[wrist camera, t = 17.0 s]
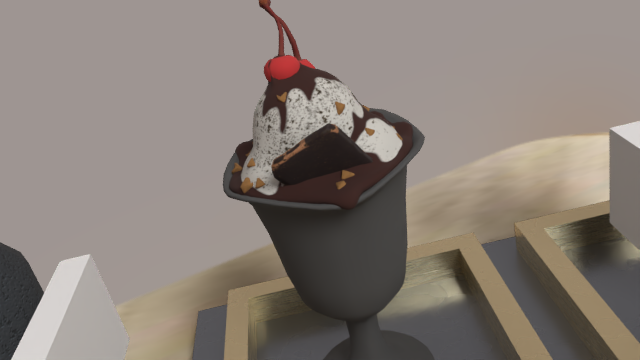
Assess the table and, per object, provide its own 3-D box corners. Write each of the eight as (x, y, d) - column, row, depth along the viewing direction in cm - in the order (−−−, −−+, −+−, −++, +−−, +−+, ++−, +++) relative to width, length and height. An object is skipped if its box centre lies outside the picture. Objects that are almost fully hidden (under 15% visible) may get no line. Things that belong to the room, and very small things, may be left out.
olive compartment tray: (169, 618, 19) (-70, 204, 12) (203, 323, 31) (94, 40, 25) (1136, 394, 18) (1427, -152, 12) (780, 187, 31) (826, -135, 24)
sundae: (344, 306, 29) (262, -19, 22) (484, 340, 25) (436, -40, 18) (260, 412, 24) (123, 43, 17) (415, 473, 20) (317, 33, 14)
